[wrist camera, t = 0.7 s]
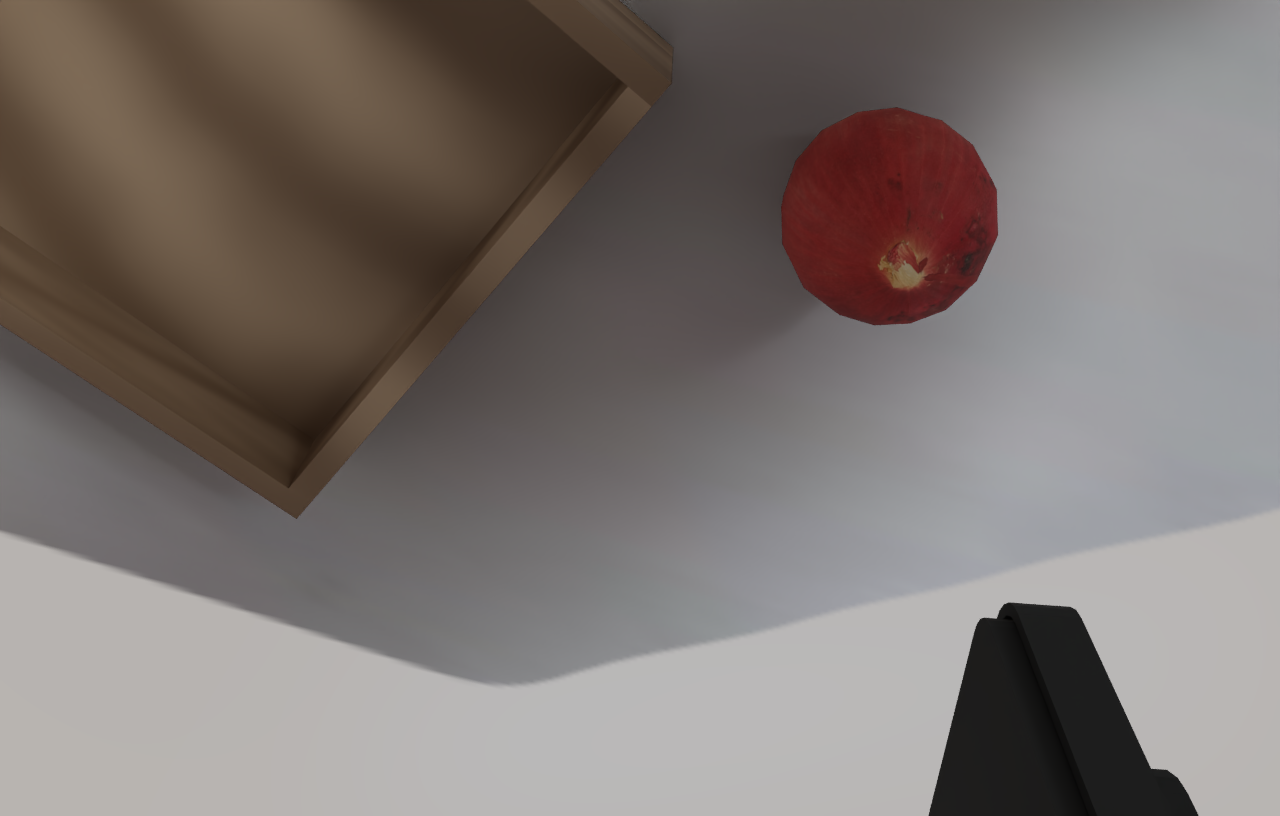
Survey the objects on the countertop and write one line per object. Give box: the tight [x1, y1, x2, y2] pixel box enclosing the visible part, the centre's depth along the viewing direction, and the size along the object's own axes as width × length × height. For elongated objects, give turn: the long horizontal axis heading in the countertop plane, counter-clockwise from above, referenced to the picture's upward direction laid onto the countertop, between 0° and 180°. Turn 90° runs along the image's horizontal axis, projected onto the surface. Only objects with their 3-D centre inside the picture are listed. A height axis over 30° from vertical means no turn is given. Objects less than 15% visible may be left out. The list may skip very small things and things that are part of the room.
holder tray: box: [0, 0, 673, 519], centre depth 34 cm, size 18×16×4 cm
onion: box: [781, 108, 998, 325], centre depth 33 cm, size 6×6×8 cm
